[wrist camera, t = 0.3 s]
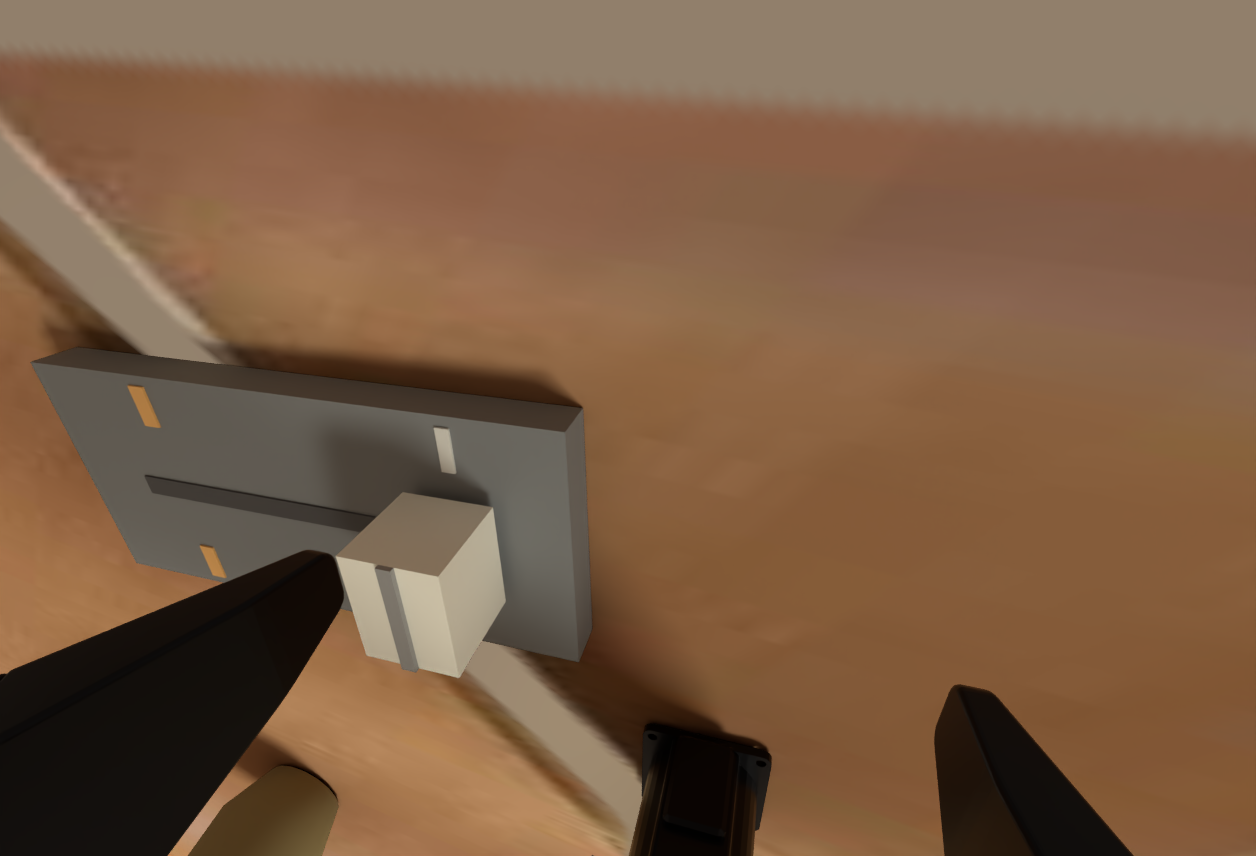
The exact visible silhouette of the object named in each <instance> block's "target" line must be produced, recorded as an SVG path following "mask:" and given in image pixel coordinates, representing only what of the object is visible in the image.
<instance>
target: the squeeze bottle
mask: <svg viewBox="0 0 1256 856" xmlns="http://www.w3.org/2000/svg"><path fill="white" fill-rule="evenodd" d="M338 807H339V805H338V802H337V798H336V797H335V796H334V794H333V793H332V792H331V790H330V789H329V788H328V787H327V786H325V785H324V784H323V783H322V782H321V781H319V780H318V779H317V778H315V777H313V776H312V775H310V774H308V773H306V772H305V771H302V770H299V769H297V768H294V767H290V766H278V767H275V768H273V769H272V770H271V771H269V772H268V773H267V774H265V775H264V776H262V777H261V778H260V779H258V780H257V781H256V782H254V783H253V784H252V785H250V786H249V787H248V788H246V789H245V790H244V791H242V792H241V793H240V794H238V795H237V796H236V797H234V798H233V799H232V800H230V801H229V802H228V803H226V804H225V805H224V806H223V807H222V809H221V810H220V811H219V813H218V814H217V816H216V817H215V818H214V820H213V821H212V823H211V824H210V825H209V827H208V828H207V830H206V831H205V832H204V834H203V835H202V837H201V838H200V839H199V841H198V842H197V844H196V845H195V846H194V848H193V849H192V851H191V852H190V853H189V855H188V856H322V854H323V851H324V848H325V845H326V842H327V839H328V836H329V833H330V830H331V828H332V825H333V822H334V819H335V816H336V813H337V810H338Z"/></svg>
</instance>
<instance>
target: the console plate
mask: <svg viewBox="0 0 1256 856" xmlns="http://www.w3.org/2000/svg"><path fill="white" fill-rule="evenodd" d="M31 364H32V366H33V368H34V370H35V372H36V374H37V376H38V377H39V379H40V381H41V383H42V385H43V387H44V389H45V391H46V393H47V395H48V396H49V398H50V400H51V402H52V404H53V406H54V408H55V410H56V412H57V413H58V415H59V417H60V419H61V421H62V423H63V425H64V427H65V429H66V430H67V432H68V434H69V436H70V438H71V440H72V442H73V444H74V446H75V448H76V449H77V451H78V453H79V455H80V457H81V459H82V461H83V463H84V465H85V466H86V468H87V470H88V472H89V474H90V476H91V478H92V480H93V482H94V483H95V485H96V487H97V489H98V491H99V493H100V495H101V497H102V499H103V500H104V502H105V504H106V506H107V508H108V510H109V512H110V514H111V516H112V518H113V519H114V521H115V523H116V525H117V527H118V529H119V531H120V533H121V535H122V536H123V538H124V540H125V542H126V544H127V546H128V548H129V550H130V552H131V553H132V555H133V557H134V559H135V561H136V563H139V564H144V565H148V566H152V567H157V568H161V569H166V570H170V571H175V572H179V573H184V574H188V575H193V576H197V577H201V578H206V579H210V580H215V581H219V582H224V583H225V582H227V581H230V580H232V579H235V578H237V577H239V576H242V575H244V574H247V573H249V572H252V571H254V570H257V569H259V568H261V567H264V566H266V565H269V564H271V563H274V562H276V561H279V560H281V559H283V558H286V557H288V556H291V555H293V554H296V553H298V552H300V551H303V550H316V551H321V552H325V553H329V554H331V555H332V556H333V557H334V558H335V560H336V563H337V567H338V571H339V574H340V578H341V581H342V585H343V589H344V601H343V604H342V607H341V609H344V610H348V611H353V610H352V607H351V604H350V601H349V598H348V594H347V591H346V588H345V585H344V582H343V578H342V575H341V572H340V569H339V566H338V562H337V559H336V555H337V554H338V553H339V552H340V551H341V550H343V549H344V548H345V547H346V546H347V545H348V544H349V543H350V542H351V541H352V540H353V539H354V538H355V537H356V536H357V535H358V534H359V533H360V532H361V531H363V530H364V529H365V528H366V527H367V526H368V525H369V524H370V523H371V522H372V521H373V520H374V519H375V518H376V517H377V516H378V515H379V514H380V513H381V512H382V511H384V510H385V509H386V508H387V507H388V506H389V505H390V504H391V503H392V502H393V501H394V500H395V499H396V498H397V497H398V496H399V495H400V494H401V493H402V492H405V493H411V494H417V495H423V496H429V497H435V498H441V499H447V500H453V501H459V502H465V503H471V504H477V505H483V506H489V507H493V511H494V519H495V526H496V533H497V541H498V548H499V555H500V562H501V570H502V577H503V584H504V591H505V599H506V602H505V604H504V605H503V607H502V608H501V610H500V612H499V613H498V615H497V617H496V618H495V620H494V622H493V623H492V625H491V627H490V628H489V630H488V632H487V633H486V635H485V636H484V638H483V640H482V641H486V642H491V643H495V644H499V645H504V646H508V647H513V648H517V649H522V650H526V651H531V652H535V653H540V654H544V655H548V656H553V657H557V658H562V659H566V660H571V661H575V662H579V661H580V658H581V656H582V653H583V651H584V648H585V646H586V643H587V641H588V639H589V636H590V634H591V631H592V609H591V585H590V562H589V538H588V514H587V490H586V466H585V442H584V419H583V408H578V407H570V406H562V405H553V404H545V403H537V402H529V401H520V400H512V399H504V398H495V397H487V396H479V395H470V394H462V393H454V392H446V391H437V390H429V389H421V388H412V387H404V386H396V385H388V384H379V383H371V382H363V381H354V380H346V379H338V378H330V377H321V376H313V375H305V374H296V373H288V372H280V371H272V370H263V369H255V368H247V367H238V366H230V365H222V364H214V363H205V362H196V361H188V360H180V359H172V358H164V357H155V356H147V355H139V354H131V353H122V352H114V351H106V350H97V349H89V348H81V347H75V348H72V349H69V350H66V351H63V352H60V353H57V354H54V355H50V356H47V357H44V358H41V359H38V360H35V361H32V362H31Z"/></svg>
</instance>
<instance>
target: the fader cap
mask: <svg viewBox="0 0 1256 856" xmlns="http://www.w3.org/2000/svg"><path fill="white" fill-rule="evenodd" d="M336 559H337V562H338V566H339V569H340V572H341V575H342V578H343V582H344V585H345V588H346V591H347V594H348V598H349V601H350V604H351V607H352V610H353V614H354V617H355V620H356V623H357V626H358V630H359V633H360V636H361V639H362V642H363V646H364V649H365V652H366V655H367V656H371V657H375V658H379V659H383V660H387V661H391V662H395V663H400V664H401V667H402V669H404V670H408V671H412V672H417V670H418V669H419V668H420V669H424V670H428V671H432V672H437V673H441V674H445V675H449V676H453V677H457V678H460V676H461V674H462V673H463V671H464V669H465V668H466V666H467V665H468V663H469V661H470V660H471V658H472V656H473V655H474V653H475V651H476V650H477V648H478V646H479V645H480V643H481V641H482V640H483V638H484V636H485V635H486V633H487V632H488V630H489V628H490V627H491V625H492V623H493V622H494V620H495V618H496V617H497V615H498V613H499V612H500V610H501V608H502V607H503V605H504V604H505V602H506V599H505V591H504V584H503V577H502V570H501V562H500V555H499V548H498V541H497V533H496V526H495V519H494V511H493V507H489V506H483V505H477V504H471V503H465V502H459V501H453V500H447V499H441V498H435V497H429V496H423V495H417V494H411V493H405V492H402V493H401V494H400V495H399V496H398V497H397V498H396V499H395V500H394V501H393V502H392V503H391V504H390V505H389V506H388V507H387V508H386V509H385V510H384V511H382V512H381V513H380V514H379V515H378V516H377V517H376V518H375V519H374V520H373V521H372V522H371V523H370V524H369V525H368V526H367V527H366V528H365V529H364V530H363V531H361V532H360V533H359V534H358V535H357V536H356V537H355V538H354V539H353V540H352V541H351V542H350V543H349V544H348V545H347V546H346V547H345V548H344V549H343V550H341V551H340V552H339V553H338V554H337V555H336Z"/></svg>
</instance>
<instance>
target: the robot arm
mask: <svg viewBox="0 0 1256 856" xmlns="http://www.w3.org/2000/svg"><path fill="white" fill-rule="evenodd" d="M343 601H344V589H343V585H342V581H341V578H340V574H339V571H338V567H337V563H336V560H335V558H334V557H333V556H332V555H331V554H329V553H325V552H321V551H316V550H303V551H300V552H298V553H296V554H293V555H291V556H288V557H286V558H283V559H281V560H279V561H276V562H274V563H271V564H269V565H266V566H264V567H261V568H259V569H257V570H254V571H252V572H249V573H247V574H244V575H242V576H239V577H237V578H235V579H232V580H230V581H227V582H225V583H222V584H220V585H218V586H215V587H213V588H210V589H208V590H205V591H203V592H200V593H198V594H196V595H193V596H191V597H188V598H186V599H183V600H181V601H178V602H176V603H174V604H171V605H169V606H166V607H164V608H161V609H159V610H157V611H154V612H152V613H149V614H147V615H144V616H142V617H139V618H137V619H135V620H132V621H130V622H127V623H125V624H122V625H120V626H117V627H115V628H113V629H110V630H108V631H105V632H103V633H100V634H98V635H96V636H93V637H91V638H88V639H86V640H83V641H81V642H78V643H76V644H74V645H71V646H69V647H66V648H64V649H61V650H59V651H56V652H54V653H52V654H49V655H47V656H44V657H42V658H39V659H37V660H35V661H32V662H30V663H27V664H25V665H22V666H20V667H17V668H15V669H13V670H11V671H10V672H8V674H0V856H168V854H169V853H170V852H171V850H172V849H173V848H174V846H175V845H176V844H177V842H178V841H179V840H180V838H181V837H182V836H183V834H184V833H185V832H186V830H187V829H188V828H189V826H190V825H191V824H192V822H193V821H194V820H195V818H196V817H197V816H198V814H199V813H200V812H201V810H202V809H203V807H204V806H205V805H206V803H207V802H208V801H209V799H210V798H211V797H212V795H213V794H214V793H215V791H216V790H217V789H218V787H219V786H220V785H221V783H222V782H223V781H224V779H225V778H226V777H227V775H228V774H229V773H230V771H231V770H232V769H233V767H234V766H235V765H236V763H237V762H238V761H239V759H240V758H241V756H242V755H243V754H244V752H245V751H246V750H247V748H248V747H249V746H250V744H251V743H252V742H253V740H254V739H255V738H256V736H257V735H258V734H259V732H260V731H261V730H262V728H263V727H264V726H265V724H266V723H267V722H268V720H269V719H270V718H271V716H272V715H273V714H274V712H275V711H276V709H277V708H278V707H279V705H280V704H281V702H282V701H283V700H284V698H285V697H286V695H287V694H288V692H289V691H290V689H291V688H292V686H293V685H294V683H295V682H296V680H297V678H298V677H299V675H300V674H301V672H302V670H303V669H304V667H305V665H306V664H307V662H308V661H309V659H310V657H311V656H312V654H313V652H314V651H315V649H316V648H317V646H318V644H319V643H320V641H321V640H322V638H323V636H324V635H325V633H326V631H327V630H328V628H329V627H330V625H331V623H332V622H333V620H334V618H335V617H336V615H337V614H338V612H339V610H340V609H341V607H342V604H343ZM934 745H935V757H936V768H937V779H938V789H939V800H940V811H941V822H942V833H943V843H944V854H945V856H1133V854H1132V853H1131V852H1130V851H1129V850H1128V849H1127V847H1126V846H1125V845H1124V844H1123V843H1122V842H1121V840H1120V839H1119V838H1118V837H1117V836H1116V835H1115V833H1114V832H1113V831H1112V830H1111V829H1110V828H1109V826H1108V825H1107V824H1106V823H1105V822H1104V821H1103V819H1102V818H1101V817H1100V816H1099V815H1098V814H1097V813H1096V811H1095V810H1094V809H1093V808H1092V807H1091V806H1090V804H1089V803H1088V802H1087V801H1086V800H1085V799H1084V797H1083V796H1082V795H1081V794H1080V793H1079V792H1078V790H1077V789H1076V788H1075V787H1074V786H1073V785H1072V783H1071V782H1070V781H1069V780H1068V779H1067V778H1066V776H1065V775H1064V774H1063V773H1062V772H1061V771H1060V770H1059V768H1058V767H1057V766H1056V765H1055V764H1054V763H1053V761H1052V760H1051V759H1050V758H1049V757H1048V756H1047V754H1046V753H1045V752H1044V751H1043V750H1042V749H1041V747H1040V746H1039V745H1038V744H1037V743H1036V742H1035V740H1034V739H1033V738H1032V737H1031V736H1030V735H1029V733H1028V732H1027V731H1026V730H1025V729H1024V728H1023V727H1022V725H1021V724H1020V723H1019V722H1018V721H1017V720H1016V718H1015V717H1014V716H1013V715H1012V714H1011V713H1010V711H1009V710H1008V709H1007V708H1006V707H1005V706H1004V704H1003V703H1002V702H1001V701H1000V700H999V699H998V698H997V697H996V695H994V694H993V693H992V692H990V691H988V690H985V689H980V688H975V687H970V686H965V685H961V684H958V685H954V686H953V687H952V688H951V690H950V692H949V694H948V697H947V699H946V702H945V704H944V707H943V709H942V712H941V714H940V717H939V720H938V722H937V725H936V729H935V736H934ZM771 764H772V757H771V755H770V754H769V753H768V752H766V751H764V750H760V749H756V748H752V747H748V746H744V745H739V744H735V743H731V742H727V741H723V740H719V739H715V738H711V737H706V736H702V735H698V734H694V733H690V732H686V731H682V730H678V729H673V728H669V727H665V726H661V725H657V724H651V723H650V724H647V725H646V726H645V729H644V733H643V761H642V802H641V806H640V811H639V815H638V819H637V823H636V827H635V832H634V836H633V840H632V844H631V849H630V853H629V856H753V851H754V837H755V831H756V830H758V829H759V827H760V822H761V817H762V812H763V807H764V802H765V796H766V791H767V786H768V781H769V776H770V771H771ZM592 856H593V855H592Z"/></svg>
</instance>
